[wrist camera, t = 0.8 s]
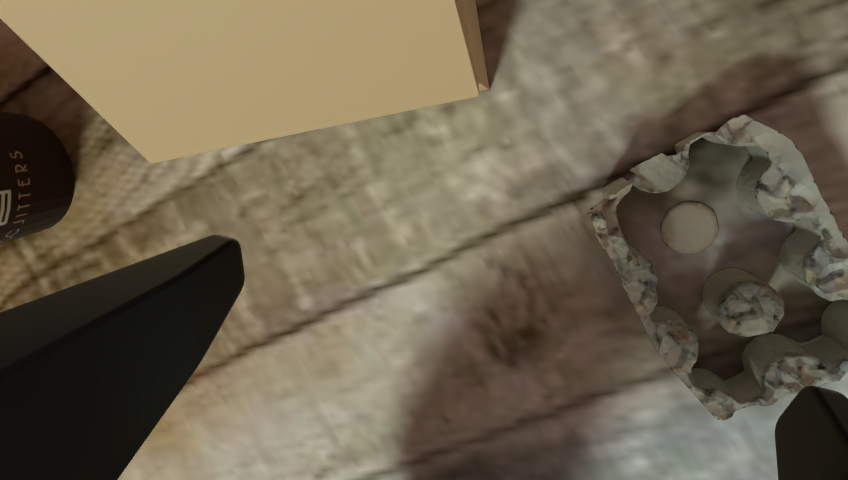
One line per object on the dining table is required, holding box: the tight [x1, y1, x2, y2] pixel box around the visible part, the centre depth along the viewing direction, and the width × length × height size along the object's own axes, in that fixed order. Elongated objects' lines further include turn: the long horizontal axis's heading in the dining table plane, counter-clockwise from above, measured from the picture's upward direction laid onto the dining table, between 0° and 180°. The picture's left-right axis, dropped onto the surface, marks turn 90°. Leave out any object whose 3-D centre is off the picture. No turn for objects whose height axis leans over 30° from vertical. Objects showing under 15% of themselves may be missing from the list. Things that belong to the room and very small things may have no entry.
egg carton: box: [587, 115, 848, 420], centre depth 21 cm, size 11×8×4 cm
